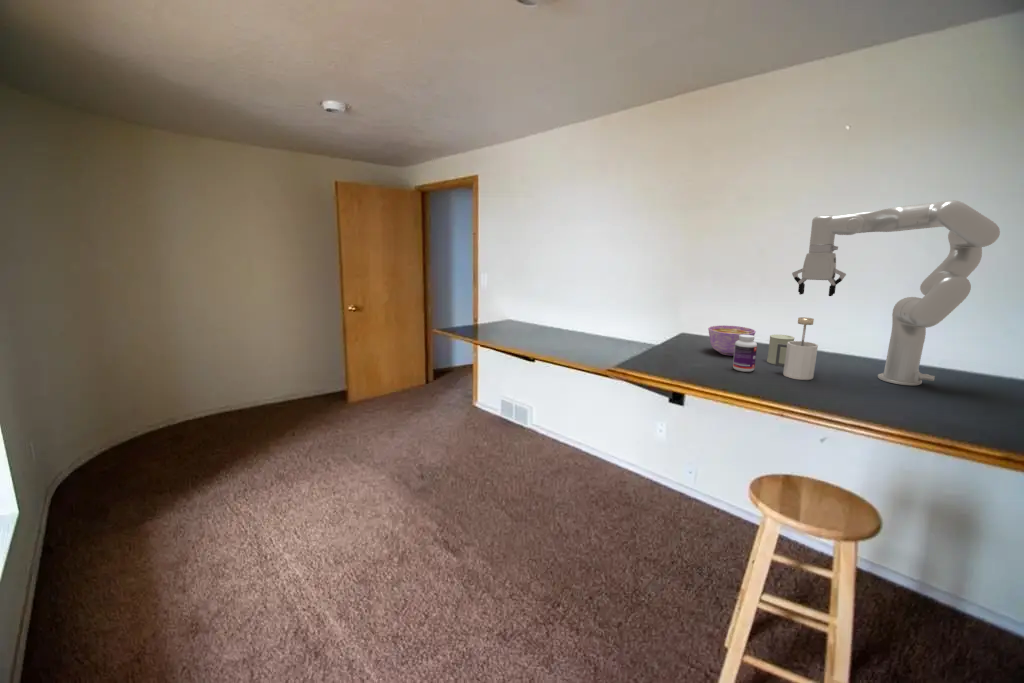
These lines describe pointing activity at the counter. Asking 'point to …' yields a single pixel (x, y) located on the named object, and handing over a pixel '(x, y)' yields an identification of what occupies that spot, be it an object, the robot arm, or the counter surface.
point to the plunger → (805, 322)
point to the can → (774, 344)
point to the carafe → (798, 359)
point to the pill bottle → (745, 353)
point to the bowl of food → (727, 337)
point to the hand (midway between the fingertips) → (815, 294)
